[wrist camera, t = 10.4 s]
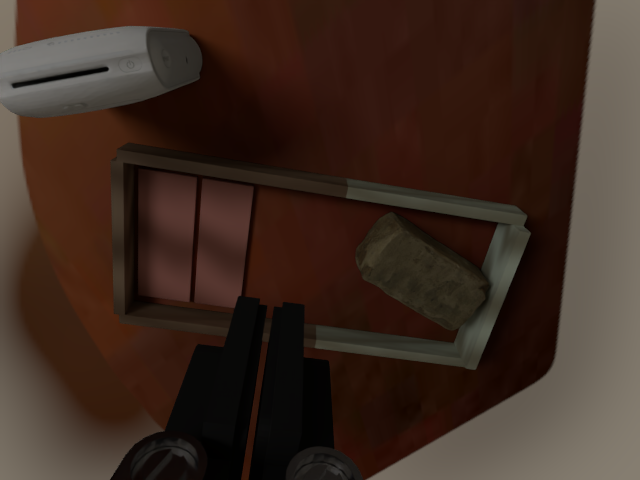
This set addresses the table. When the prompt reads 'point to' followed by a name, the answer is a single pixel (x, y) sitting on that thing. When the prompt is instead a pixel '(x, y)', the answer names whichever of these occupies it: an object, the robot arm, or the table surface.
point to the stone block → (420, 272)
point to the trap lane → (231, 245)
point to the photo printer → (96, 70)
